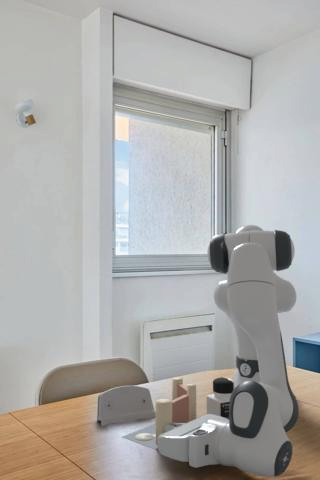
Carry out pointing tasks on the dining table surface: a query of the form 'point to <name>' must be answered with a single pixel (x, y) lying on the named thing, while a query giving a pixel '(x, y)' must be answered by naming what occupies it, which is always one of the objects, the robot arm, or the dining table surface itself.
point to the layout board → (144, 436)
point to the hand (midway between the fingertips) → (168, 427)
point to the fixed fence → (181, 390)
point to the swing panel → (171, 413)
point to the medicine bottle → (220, 397)
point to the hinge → (124, 404)
